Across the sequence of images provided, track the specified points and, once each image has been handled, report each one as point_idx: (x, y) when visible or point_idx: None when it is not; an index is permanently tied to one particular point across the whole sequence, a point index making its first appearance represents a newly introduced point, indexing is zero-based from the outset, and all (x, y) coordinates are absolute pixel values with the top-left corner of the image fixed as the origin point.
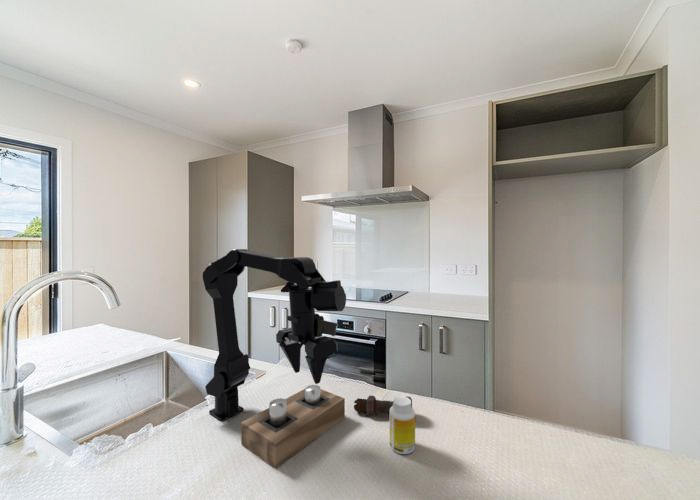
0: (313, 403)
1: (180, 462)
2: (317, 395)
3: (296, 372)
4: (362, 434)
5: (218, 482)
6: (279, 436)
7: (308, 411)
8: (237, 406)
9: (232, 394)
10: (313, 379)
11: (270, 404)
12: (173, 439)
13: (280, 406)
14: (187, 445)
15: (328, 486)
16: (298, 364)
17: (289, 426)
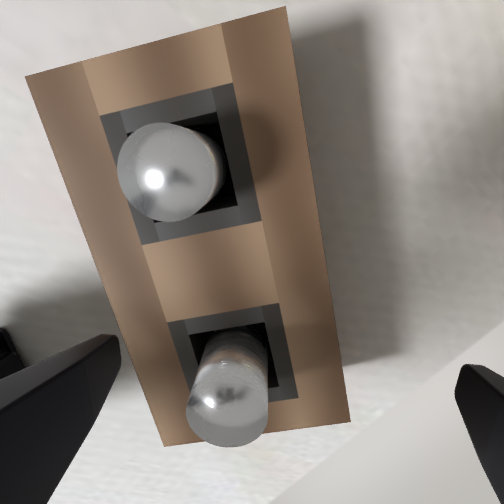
0: (218, 189)
1: (160, 494)
2: (216, 168)
3: (120, 361)
4: (420, 65)
5: (277, 462)
6: (324, 397)
7: (260, 244)
8: (1, 369)
9: None
10: (478, 447)
11: (219, 443)
12: (60, 487)
13: (265, 422)
14: (104, 473)
15: (487, 306)
16: (76, 386)
17: (299, 351)
